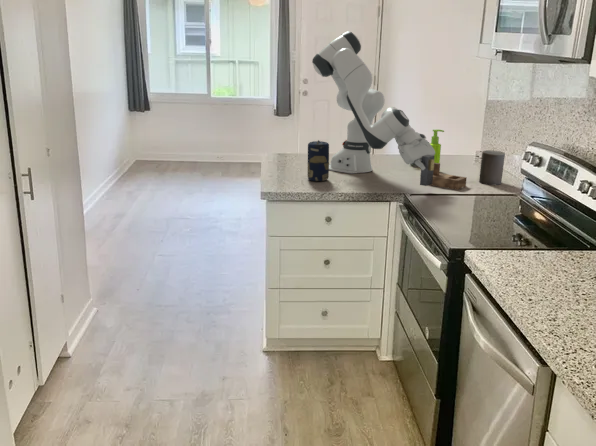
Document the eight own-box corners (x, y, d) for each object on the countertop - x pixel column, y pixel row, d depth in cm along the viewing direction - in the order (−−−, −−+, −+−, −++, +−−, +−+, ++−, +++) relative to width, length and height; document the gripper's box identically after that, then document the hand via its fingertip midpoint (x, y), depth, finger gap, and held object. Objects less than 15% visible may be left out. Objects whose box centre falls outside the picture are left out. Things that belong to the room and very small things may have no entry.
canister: (331, 178, 270) (332, 139, 264) (323, 183, 262) (324, 142, 256) (312, 176, 274) (313, 137, 268) (303, 181, 265) (304, 141, 260)
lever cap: (419, 184, 246) (422, 156, 242) (425, 182, 250) (428, 154, 246) (428, 186, 244) (430, 157, 240) (434, 184, 247) (436, 155, 244)
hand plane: (426, 184, 261) (427, 164, 259) (434, 181, 267) (436, 161, 264) (457, 189, 252) (459, 169, 249) (465, 186, 258) (467, 166, 255)
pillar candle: (475, 182, 265) (479, 149, 260) (483, 178, 272) (487, 146, 267) (497, 186, 259) (501, 152, 254) (504, 182, 267) (508, 149, 262)
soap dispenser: (441, 172, 284) (444, 130, 278) (426, 172, 285) (429, 130, 279) (440, 170, 289) (444, 129, 283) (426, 169, 290) (429, 128, 284)
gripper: (401, 139, 238) (421, 167, 235) (426, 134, 253) (445, 160, 250) (391, 149, 242) (410, 176, 239) (416, 143, 257) (435, 168, 254)
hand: (428, 168), depth 245 cm, fingers closed on lever cap, 5 cm apart
